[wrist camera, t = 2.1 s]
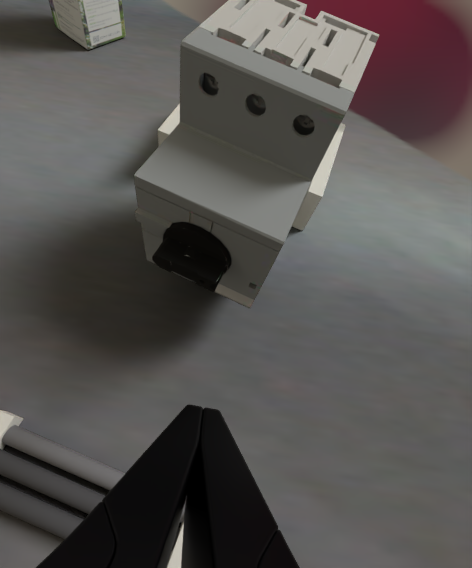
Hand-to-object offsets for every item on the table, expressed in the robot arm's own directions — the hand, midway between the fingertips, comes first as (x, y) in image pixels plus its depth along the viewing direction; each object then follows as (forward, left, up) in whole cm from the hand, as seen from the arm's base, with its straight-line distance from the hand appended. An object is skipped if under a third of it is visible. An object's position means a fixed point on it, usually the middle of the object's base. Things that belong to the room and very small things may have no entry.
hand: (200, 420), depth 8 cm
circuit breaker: (+14, +3, -14) cm, 20 cm away
